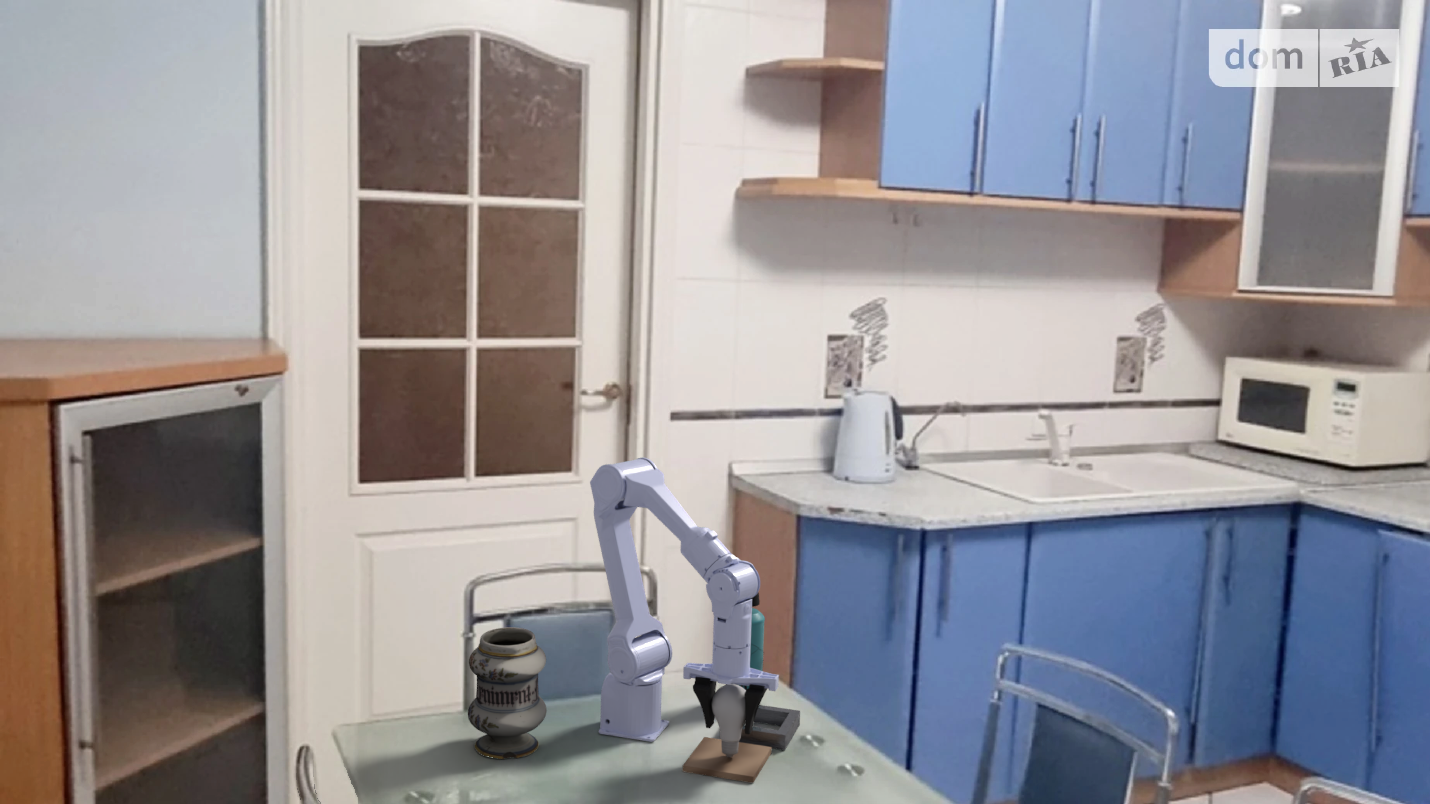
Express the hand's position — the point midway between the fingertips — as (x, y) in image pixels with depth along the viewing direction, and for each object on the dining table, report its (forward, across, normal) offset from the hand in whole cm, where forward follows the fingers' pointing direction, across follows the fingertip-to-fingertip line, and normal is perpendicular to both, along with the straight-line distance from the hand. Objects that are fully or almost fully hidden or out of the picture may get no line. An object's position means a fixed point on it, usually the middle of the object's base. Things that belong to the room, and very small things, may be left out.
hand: (729, 728), depth 183 cm
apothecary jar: (+6, -34, -6) cm, 35 cm away
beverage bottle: (+6, -4, +24) cm, 24 cm away
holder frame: (+5, +2, +12) cm, 14 cm away
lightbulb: (+4, 0, -1) cm, 4 cm away
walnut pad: (+5, 0, 0) cm, 5 cm away
